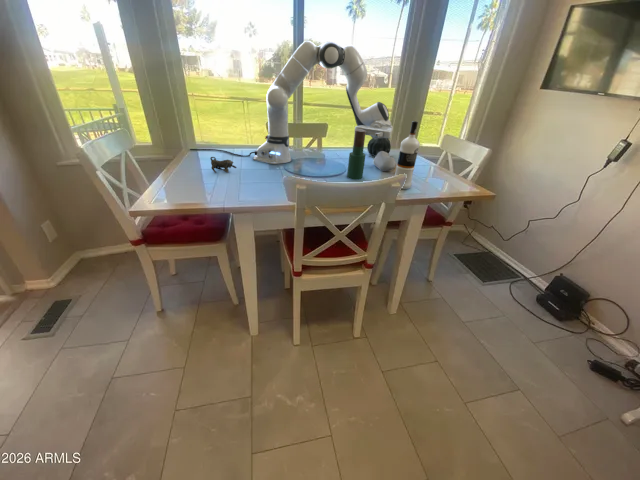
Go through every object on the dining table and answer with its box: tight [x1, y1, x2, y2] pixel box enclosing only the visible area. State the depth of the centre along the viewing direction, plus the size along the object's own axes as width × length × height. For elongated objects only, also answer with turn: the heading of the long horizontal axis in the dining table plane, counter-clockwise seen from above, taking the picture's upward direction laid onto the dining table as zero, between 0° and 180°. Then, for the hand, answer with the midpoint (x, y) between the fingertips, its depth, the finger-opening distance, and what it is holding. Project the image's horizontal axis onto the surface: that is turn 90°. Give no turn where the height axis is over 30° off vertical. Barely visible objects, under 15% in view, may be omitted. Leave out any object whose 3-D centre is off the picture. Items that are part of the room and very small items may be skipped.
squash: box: [366, 137, 392, 157], centre depth 177 cm, size 14×15×15 cm
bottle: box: [346, 145, 366, 181], centre depth 139 cm, size 8×8×16 cm
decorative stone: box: [372, 151, 396, 172], centre depth 156 cm, size 17×10×10 cm
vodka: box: [394, 120, 421, 190], centre depth 126 cm, size 9×9×30 cm
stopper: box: [352, 129, 366, 148], centre depth 133 cm, size 5×5×11 cm
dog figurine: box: [209, 156, 237, 174], centre depth 139 cm, size 12×6×7 cm, turn 95°
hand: (368, 133), depth 141 cm, fingers open, 8 cm apart
